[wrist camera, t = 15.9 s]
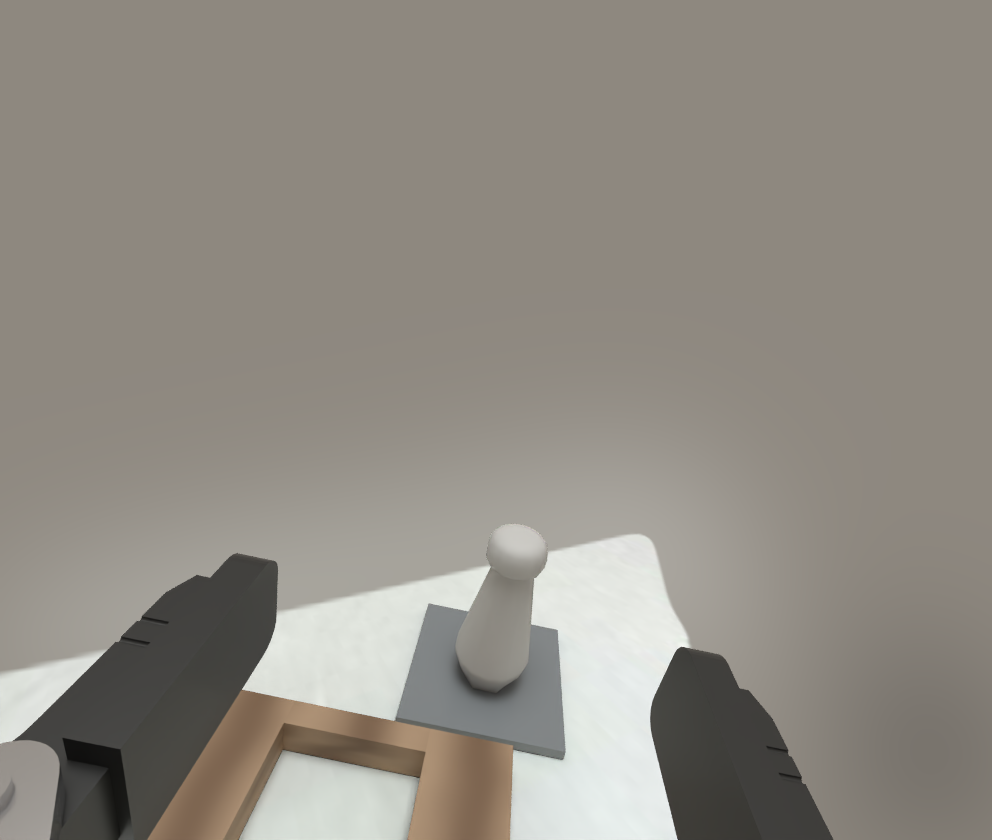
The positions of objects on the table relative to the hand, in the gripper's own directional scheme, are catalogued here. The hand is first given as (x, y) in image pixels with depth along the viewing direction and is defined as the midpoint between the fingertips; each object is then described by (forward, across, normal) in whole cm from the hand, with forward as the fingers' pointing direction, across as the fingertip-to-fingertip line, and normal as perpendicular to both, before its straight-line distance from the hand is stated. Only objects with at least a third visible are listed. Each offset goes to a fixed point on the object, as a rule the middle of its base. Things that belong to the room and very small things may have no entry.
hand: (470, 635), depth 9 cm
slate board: (+21, -4, +26) cm, 33 cm away
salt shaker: (+20, -4, +25) cm, 32 cm away
